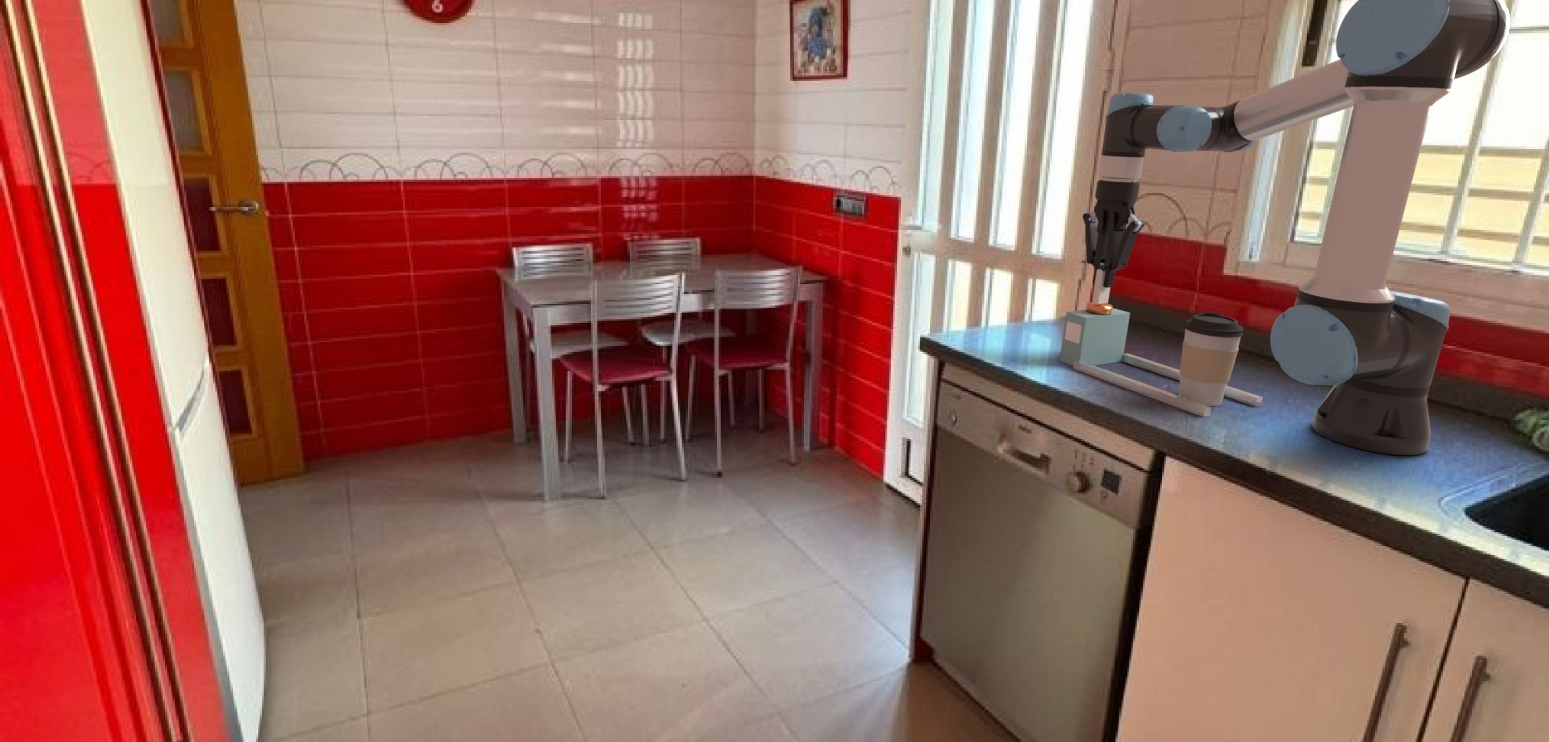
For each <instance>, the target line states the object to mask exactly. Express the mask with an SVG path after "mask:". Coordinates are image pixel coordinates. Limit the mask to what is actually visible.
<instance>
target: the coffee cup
mask: <svg viewBox="0 0 1549 742" xmlns="http://www.w3.org/2000/svg"><path fill="white" fill-rule="evenodd" d="M1183 328H1184V330H1185V331H1184V338H1183V341H1182V349H1181V350H1182V351H1181V360H1180V367H1179V370H1180V381H1179V385H1178V394H1177V395H1178V396H1181V397H1184V398H1186V399H1189V400H1192V401H1195V402H1198V403H1200V404H1203V405H1206V406H1209V407H1214V406H1215V407H1217V406H1219V405H1222V403H1223V399H1224V397H1225V396H1224V393H1225V389H1226V386H1228V382H1230V380H1231V376H1232V372H1233V368H1234V366H1235V362H1236V359H1237V356H1238V353H1239V349H1240V348H1239V345H1240V341H1241V338H1242V336H1244V333H1243V331H1244V327H1243V326H1242V325H1239V321H1238V320H1237V319H1236V318H1233V317H1229V316H1225V315H1222V314H1220V313H1218V312H1214V311H1204V312H1201V313H1199V314H1194V315H1193V317H1191V318H1190V319H1188V320H1186V321H1185V324H1184V327H1183Z"/></svg>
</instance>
